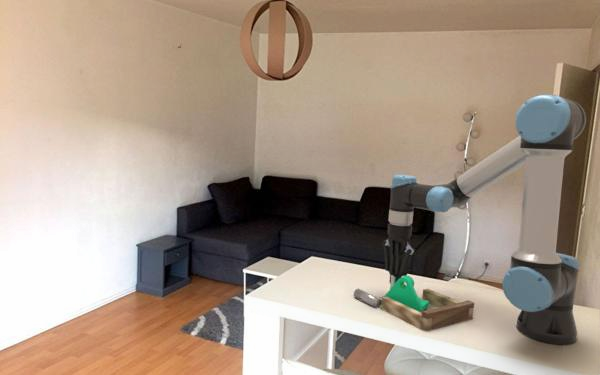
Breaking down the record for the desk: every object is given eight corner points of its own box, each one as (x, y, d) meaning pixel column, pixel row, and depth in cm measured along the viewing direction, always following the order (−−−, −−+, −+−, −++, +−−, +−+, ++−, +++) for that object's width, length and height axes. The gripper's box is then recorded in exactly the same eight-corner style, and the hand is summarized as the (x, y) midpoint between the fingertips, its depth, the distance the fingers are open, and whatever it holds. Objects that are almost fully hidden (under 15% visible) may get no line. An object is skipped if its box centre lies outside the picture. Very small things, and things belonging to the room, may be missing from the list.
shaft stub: (379, 309, 147) (383, 300, 148) (373, 306, 146) (377, 297, 146) (358, 298, 156) (362, 290, 156) (352, 295, 154) (356, 287, 154)
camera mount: (429, 309, 148) (432, 277, 147) (419, 316, 142) (422, 282, 141) (393, 299, 155) (396, 268, 154) (382, 305, 149) (385, 273, 148)
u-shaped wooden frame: (472, 318, 142) (474, 302, 142) (425, 331, 131) (427, 313, 131) (426, 298, 157) (427, 284, 156) (380, 308, 146) (382, 292, 146)
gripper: (423, 226, 149) (417, 299, 152) (394, 218, 160) (388, 286, 163) (406, 228, 145) (400, 303, 148) (377, 220, 156) (372, 290, 159)
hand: (394, 294), depth 156 cm, fingers closed
